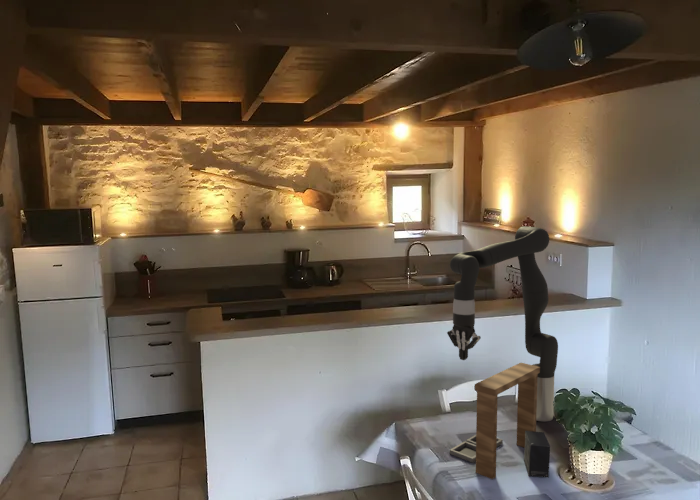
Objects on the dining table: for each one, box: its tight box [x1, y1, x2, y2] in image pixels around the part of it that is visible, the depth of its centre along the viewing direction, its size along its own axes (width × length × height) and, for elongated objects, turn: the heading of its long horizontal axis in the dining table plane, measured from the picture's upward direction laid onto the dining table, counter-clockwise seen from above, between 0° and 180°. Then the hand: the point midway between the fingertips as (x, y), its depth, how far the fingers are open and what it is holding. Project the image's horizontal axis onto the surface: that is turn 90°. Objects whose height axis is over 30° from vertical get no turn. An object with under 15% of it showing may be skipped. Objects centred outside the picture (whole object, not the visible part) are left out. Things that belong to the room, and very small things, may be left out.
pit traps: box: [449, 434, 504, 464], centre depth 192 cm, size 19×9×2 cm, turn 135°
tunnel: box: [474, 362, 540, 480], centre depth 182 cm, size 29×7×29 cm, turn 135°
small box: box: [523, 431, 551, 479], centre depth 177 cm, size 11×6×10 cm, turn 171°
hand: (463, 359), depth 197 cm, fingers closed
